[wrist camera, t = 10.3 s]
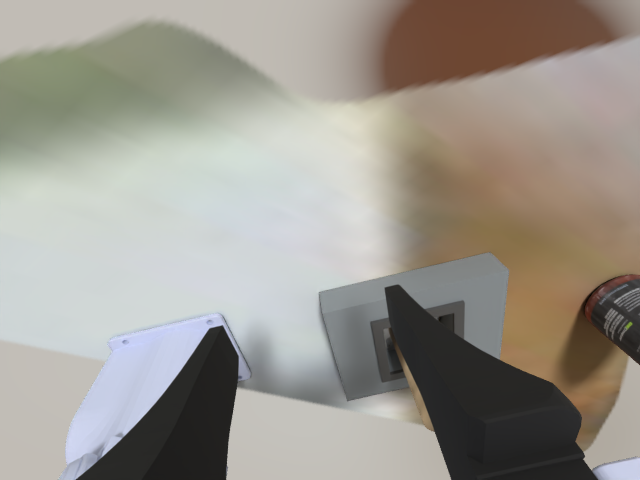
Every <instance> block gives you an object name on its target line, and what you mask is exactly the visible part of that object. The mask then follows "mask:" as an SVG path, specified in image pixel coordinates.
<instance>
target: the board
mask: <svg viewBox="0 0 640 480" xmlns="http://www.w3.org/2000/svg"><path fill="white" fill-rule="evenodd" d="M508 276H509V270H508V269H507V268H506V267H505V266H504V265H503V264H502V263H501V262H500V261H499V260H498V259H497V258H496V257H495V256H494V255H493V254H491V253H490V252H489V253H484V254H480V255H476V256H471V257H467V258H463V259H459V260H454V261H450V262H446V263H442V264H437V265H433V266H429V267H425V268H420V269H416V270H412V271H407V272H403V273H399V274H395V275H390V276H386V277H382V278H378V279H373V280H369V281H365V282H360V283H356V284H352V285H348V286H343V287H339V288H335V289H331V290H326V291H322V292H319V295H320V302H321V309H322V315H323V318H324V322H325V325H326V328H327V332H328V335H329V339H330V342H331V346H332V349H333V353H334V356H335V360H336V363H337V367H338V370H339V374H340V377H341V381H342V384H343V387H344V391H345V394H346V398H347V401H350V400H354V399H359V398H363V397H368V396H372V395H376V394H381V393H385V392H390V391H394V390H399V389H403V388H408V387H410V386H409V384H408V381H407V379H406V376H405V373H404V371H403V368H402V365H401V363H400V360H399V358H398V355H397V352H396V350H395V349H394V350H389V351H387V348H386V345H385V339H384V332H383V329H387V328H391V325H390V322H389V316H388V309H387V303H386V296H385V289H384V287H388V286H393V285H397V284H399V285H400V286H401V287H402V288H403V289H404V290H405V291H406V292H407V293H408V294H409V295H410V296H411V297H412V298H413V299H414V300H415V301H416V302H417V303H418V304H419V305H420V306H422V307H423V308H424V309H425V310H426V311H427V312H428V313H430V314H431V315H432V316H433V317H434V318H435V317H439V316H440V322H441V323H442V324H443V325H445V326H446V327H447V328H448V329H450V330H451V331H453V332H454V333H455V334H457V335H458V336H460V337H461V338H463V339H464V340H466V341H467V342H469V343H471V344H472V345H474V346H476V347H477V348H479V349H481V350H482V351H484V352H486V353H488V354H490V355H492V356H493V357H495V358H497V359H499V360H500V352H501V342H502V333H503V323H504V314H505V305H506V295H507V286H508Z"/></svg>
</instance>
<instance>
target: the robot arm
mask: <svg viewBox="0 0 640 480" xmlns="http://www.w3.org/2000/svg"><path fill="white" fill-rule="evenodd" d="M384 289H385V296H386V303H387V309H388V316H389V322H390V325H391V328H392V331H393V334H394V337H395V340H396V343H397V345H398V347H399V349H400V351H401V353H402V355H403V358H404V360H405V362H406V364H407V366H408V368H409V370H410V372H411V374H412V376H413V379H414V381H415V383H416V385H417V387H418V389H419V391H420V394H421V396H422V398H423V401H424V404H425V406H426V409H427V412H428V415H429V417H430V420H431V423H432V426H433V428H434V431H435V434H436V437H437V439H438V442H439V445H440V448H441V451H442V454H443V457H444V460H445V462H446V465H447V468H448V471H449V474H450V477H451V480H640V457H633V458H628V459H623V460H618V461H614V462H609V463H605V464H602V465H599V466H597V467H595V468H593V470H592V471H591V469H590V468H589V467H588V465H587V464H586V463H585V461H584V460H583V458H584V457H585V455H584V453H583V451H582V450H581V449H580V447H579V446H578V445H577V443H576V442H575V441H576V438H577V435H578V432H579V430H580V427H581V420H582V417H581V414H580V412H579V411H578V410H577V409H576V407H575V406H574V405H573V404H572V403H571V401H570V400H569V399H568V398H567V397H566V396H565V395H564V394H563V393H562V392H561V391H560V390H559V389H558V388H557V387H556V386H555V385H554V384H553V383H551V382H549V381H546V380H544V379H541V378H539V377H537V376H534V375H532V374H529V373H527V372H524V371H522V370H520V369H517V368H515V367H513V366H511V365H509V364H507V363H505V362H503V361H501V360H499V359H497V358H495V357H493V356H492V355H490V354H488V353H486V352H484V351H482V350H481V349H479V348H477V347H476V346H474V345H472V344H471V343H469V342H467V341H466V340H464V339H463V338H461V337H460V336H458V335H457V334H455V333H454V332H453V331H451V330H450V329H448V328H447V327H446V326H445V325H443V324H442V323H441V322H439V321H438V320H437V319H436V318H434V317H433V316H432V315H431V314H430V313H428V312H427V311H426V310H425V309H424V308H423V307H422V306H420V305H419V304H418V303H417V302H416V301H415V300H414V299H413V298H412V297H411V296H410V295H409V294H408V293H407V292H406V291H405V290H404V289H403V288H402V287H401V286H400V285H399V284H397V285H393V286H388V287H384ZM208 320H211V321H212V322H210V321H208ZM126 340H127V341H126ZM107 345H108V346H109V348H110V349H111V350H112V353H111V354H110V356H109V358H108V359H107V361H106V363H105V364H104V366H103V368H102V370H101V371H100V373H99V375H98V376H97V378H96V380H95V382H94V383H93V385H92V387H91V388H90V390H89V392H88V393H87V395H86V397H85V399H84V400H83V402H82V404H81V406H80V407H79V409H78V410H77V412H76V414H75V416H74V418H73V420H72V422H71V425H70V428H69V431H68V435H67V441H66V450H65V455H66V463H67V467H66V469H65V470H64V471H63V473H62V475H61V476H60V477H59V479H58V480H226V476H227V469H228V467H227V454H228V441H229V433H230V426H231V420H232V414H233V408H234V402H235V396H236V390H237V383H238V381H242V380H246V379H249V378H250V376H251V372H250V370H249V368H248V366H247V364H246V362H245V360H244V358H243V356H242V354H241V352H240V350H239V348H238V346H237V344H236V342H235V340H234V338H233V336H232V334H231V332H230V330H229V328H228V326H227V324H226V322H225V320H224V318H223V316H222V315H220V314H211V315H207V316H202V317H198V318H194V319H190V320H185V321H181V322H177V323H173V324H168V325H164V326H160V327H156V328H151V329H147V330H143V331H138V332H134V333H130V334H126V335H121V336H117V337H113V338H110V340H109V341H108V343H107Z"/></svg>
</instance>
